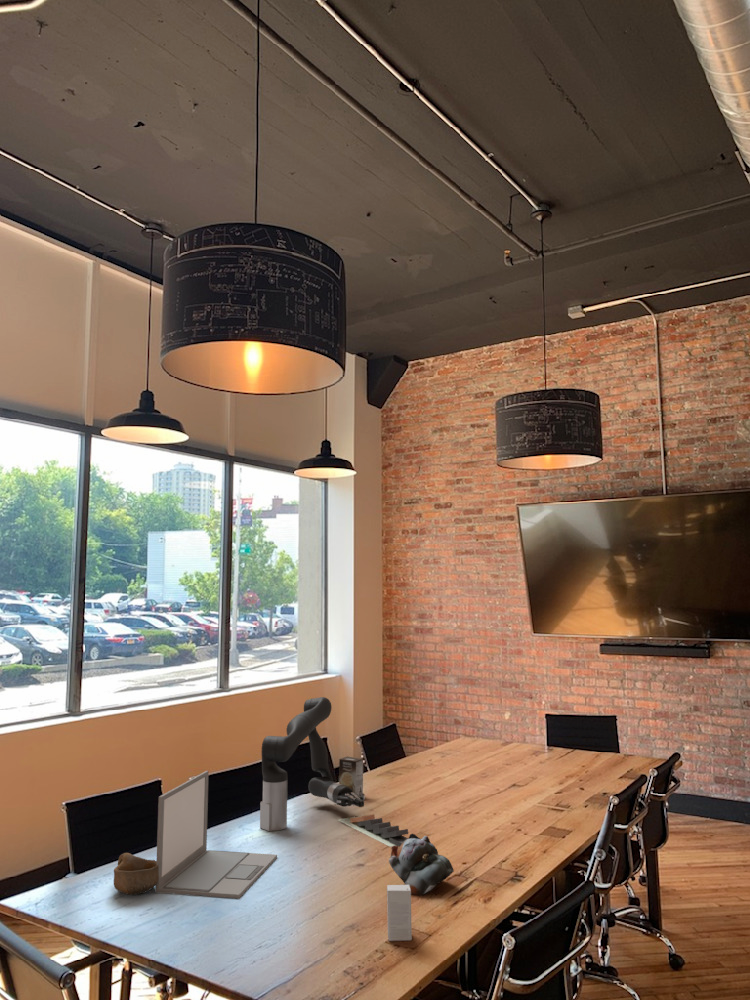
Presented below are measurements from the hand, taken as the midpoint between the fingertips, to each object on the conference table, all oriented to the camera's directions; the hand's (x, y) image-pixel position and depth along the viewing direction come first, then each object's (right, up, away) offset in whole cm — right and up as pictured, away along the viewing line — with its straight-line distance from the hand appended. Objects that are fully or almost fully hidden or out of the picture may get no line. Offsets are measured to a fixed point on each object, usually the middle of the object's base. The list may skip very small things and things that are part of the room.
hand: (362, 804), depth 286 cm
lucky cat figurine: (+19, 0, -62) cm, 64 cm away
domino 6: (+12, -4, -20) cm, 24 cm away
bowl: (-67, 0, -64) cm, 92 cm away
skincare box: (+11, +5, -96) cm, 96 cm away
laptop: (-44, -2, -51) cm, 67 cm away
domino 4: (+6, -5, -11) cm, 14 cm away
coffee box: (-6, -14, +41) cm, 43 cm away
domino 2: (+1, -6, -2) cm, 7 cm away
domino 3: (+3, -6, -6) cm, 9 cm away
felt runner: (+4, -7, -8) cm, 11 cm away
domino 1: (-2, -7, +3) cm, 8 cm away
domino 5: (+9, -5, -16) cm, 19 cm away
